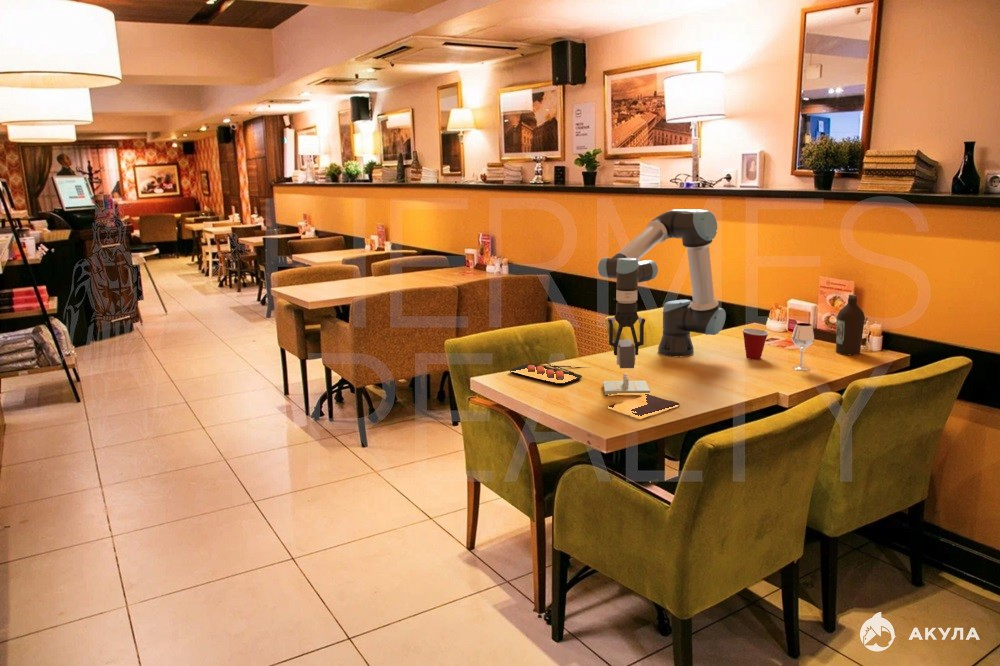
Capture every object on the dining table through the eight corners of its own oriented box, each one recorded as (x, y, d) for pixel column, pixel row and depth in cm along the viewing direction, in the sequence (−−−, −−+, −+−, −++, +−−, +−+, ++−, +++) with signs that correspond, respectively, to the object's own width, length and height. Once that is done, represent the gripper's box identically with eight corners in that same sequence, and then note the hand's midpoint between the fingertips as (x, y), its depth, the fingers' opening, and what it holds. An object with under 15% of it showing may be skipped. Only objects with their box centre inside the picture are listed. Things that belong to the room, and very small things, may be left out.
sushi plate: (506, 375, 291) (506, 366, 290) (554, 359, 312) (554, 350, 311) (561, 389, 271) (561, 379, 270) (608, 371, 292) (609, 362, 291)
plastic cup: (771, 361, 297) (773, 333, 294) (745, 361, 297) (746, 333, 294) (762, 354, 307) (764, 327, 304) (737, 354, 308) (738, 327, 305)
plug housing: (617, 360, 268) (617, 339, 266) (631, 360, 267) (631, 339, 266) (620, 368, 258) (620, 346, 256) (634, 368, 257) (634, 346, 255)
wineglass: (805, 372, 280) (808, 327, 276) (785, 368, 286) (788, 324, 282) (815, 368, 285) (819, 324, 281) (796, 364, 291) (799, 321, 287)
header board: (602, 386, 271) (603, 372, 270) (645, 385, 270) (645, 371, 269) (605, 396, 260) (605, 381, 258) (649, 395, 258) (650, 381, 257)
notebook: (607, 410, 247) (607, 404, 246) (646, 397, 258) (646, 392, 258) (640, 421, 235) (640, 416, 235) (679, 408, 246) (679, 402, 246)
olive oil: (855, 349, 311) (860, 292, 305) (866, 355, 300) (871, 297, 295) (830, 349, 311) (834, 293, 305) (840, 356, 301) (845, 297, 295)
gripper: (602, 303, 254) (601, 366, 259) (653, 303, 253) (652, 366, 258) (600, 299, 261) (600, 361, 267) (650, 299, 260) (649, 360, 265)
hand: (625, 363), depth 262 cm, fingers closed on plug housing, 5 cm apart
